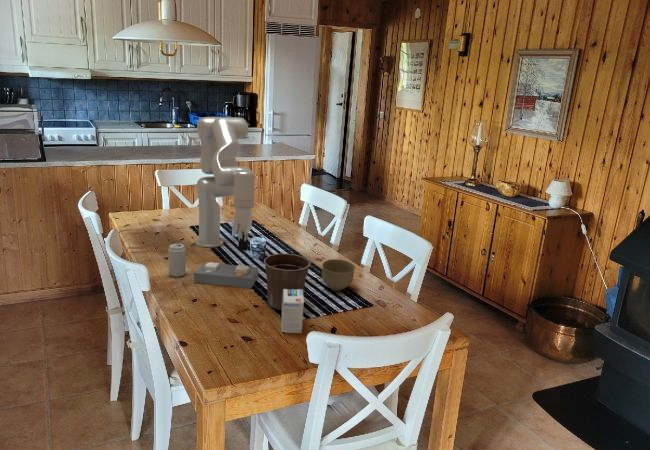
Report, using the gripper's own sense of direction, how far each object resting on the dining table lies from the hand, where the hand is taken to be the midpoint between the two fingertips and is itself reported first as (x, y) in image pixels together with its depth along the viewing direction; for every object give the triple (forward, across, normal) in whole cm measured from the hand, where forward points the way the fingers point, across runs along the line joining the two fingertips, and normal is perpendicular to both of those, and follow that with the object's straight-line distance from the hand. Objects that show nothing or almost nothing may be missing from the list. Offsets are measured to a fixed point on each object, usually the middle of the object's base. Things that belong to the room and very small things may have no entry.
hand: (243, 250), depth 201 cm
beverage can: (+13, -1, -26) cm, 29 cm away
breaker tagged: (+11, -1, 0) cm, 11 cm away
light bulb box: (+14, +31, +25) cm, 42 cm away
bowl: (+14, -3, +37) cm, 39 cm away
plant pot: (+14, +15, +20) cm, 28 cm away
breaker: (+10, -1, -12) cm, 16 cm away
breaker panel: (+13, -1, -6) cm, 14 cm away
